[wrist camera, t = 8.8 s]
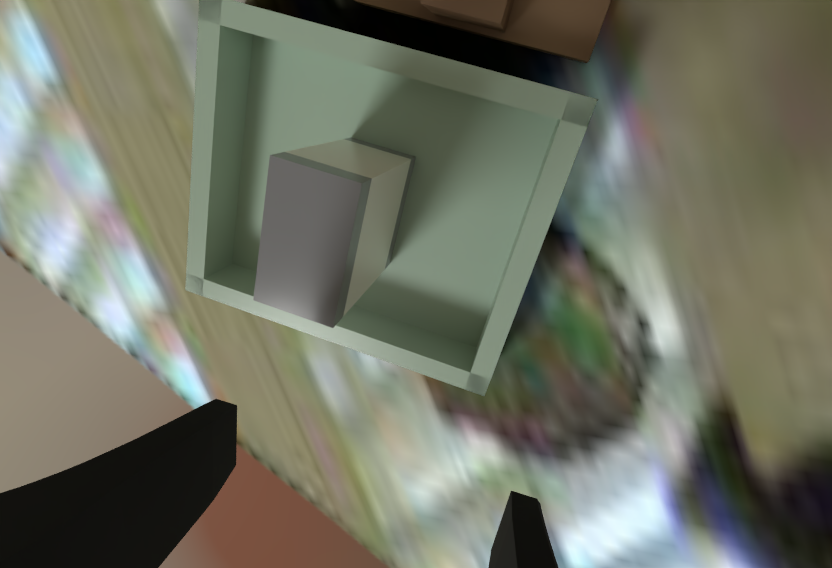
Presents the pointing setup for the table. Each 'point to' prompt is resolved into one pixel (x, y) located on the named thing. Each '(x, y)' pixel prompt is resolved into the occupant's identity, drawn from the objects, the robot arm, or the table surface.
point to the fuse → (329, 225)
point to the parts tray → (428, 190)
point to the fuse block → (514, 21)
